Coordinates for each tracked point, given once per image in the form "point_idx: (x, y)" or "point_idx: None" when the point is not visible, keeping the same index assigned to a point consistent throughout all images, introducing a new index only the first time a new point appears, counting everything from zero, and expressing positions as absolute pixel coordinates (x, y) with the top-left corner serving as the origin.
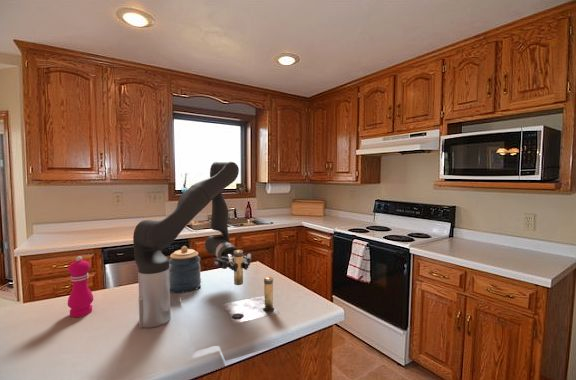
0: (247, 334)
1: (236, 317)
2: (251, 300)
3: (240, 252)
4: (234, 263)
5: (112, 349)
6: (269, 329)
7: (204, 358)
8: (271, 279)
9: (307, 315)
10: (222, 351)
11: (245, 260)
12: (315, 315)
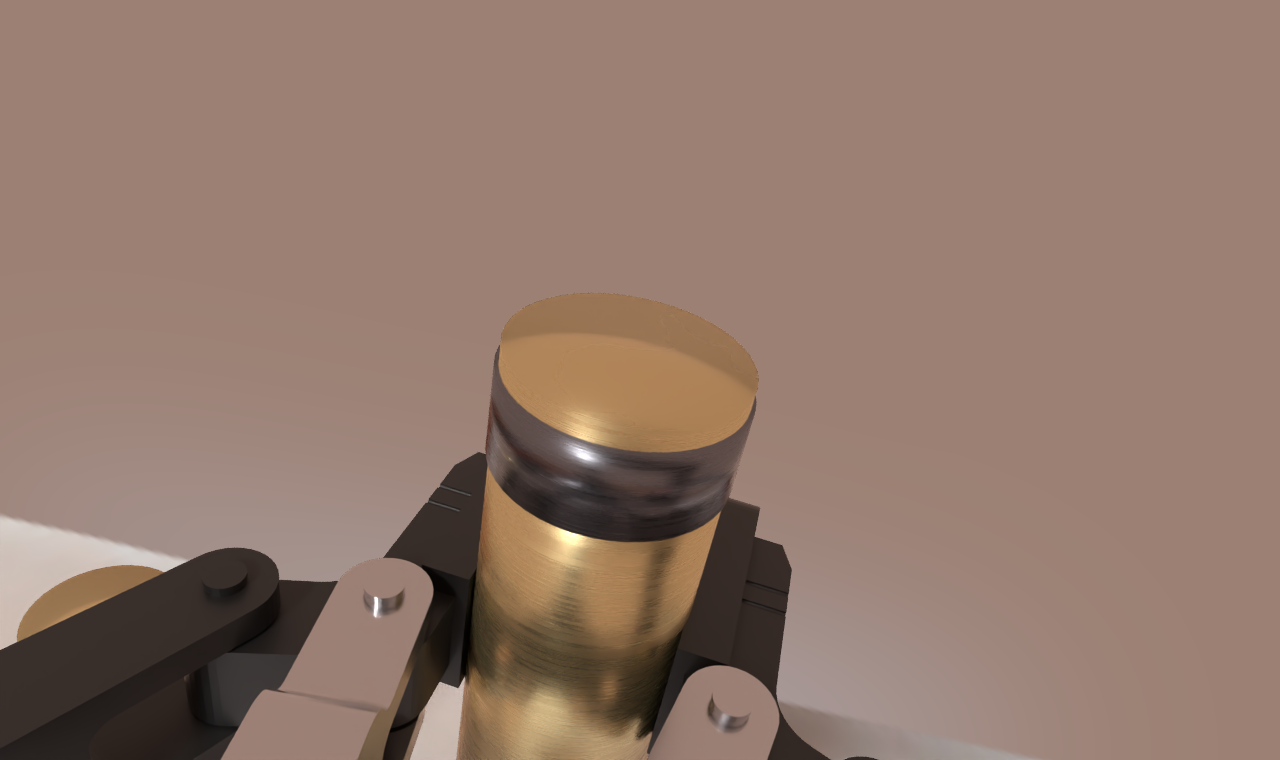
0: None
1: None
2: None
3: (639, 306)
4: (723, 553)
5: None
6: (446, 687)
7: (975, 750)
8: (133, 566)
9: None
10: (854, 727)
11: (352, 592)
12: (28, 566)
